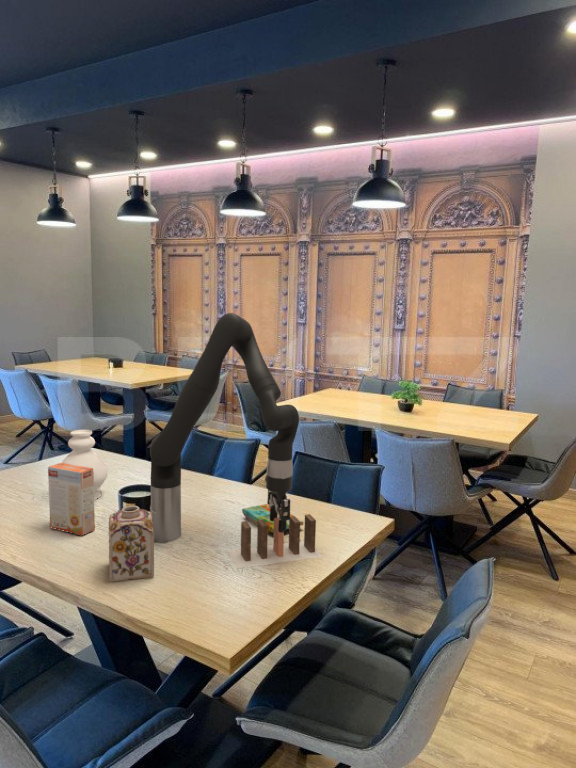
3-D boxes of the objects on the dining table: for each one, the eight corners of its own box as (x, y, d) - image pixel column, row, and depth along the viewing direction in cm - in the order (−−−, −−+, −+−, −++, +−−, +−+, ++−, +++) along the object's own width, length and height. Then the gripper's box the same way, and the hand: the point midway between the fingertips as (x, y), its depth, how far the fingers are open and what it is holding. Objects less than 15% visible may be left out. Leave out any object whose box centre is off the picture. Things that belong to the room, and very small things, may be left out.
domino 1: (245, 561, 162) (245, 528, 160) (240, 553, 166) (241, 521, 165) (250, 560, 162) (251, 527, 161) (246, 553, 167) (246, 521, 166)
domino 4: (294, 554, 167) (295, 522, 165) (288, 547, 171) (289, 516, 170) (299, 554, 167) (300, 522, 166) (293, 547, 172) (294, 515, 170)
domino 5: (309, 552, 168) (310, 520, 167) (303, 545, 173) (304, 514, 172) (314, 552, 169) (315, 520, 168) (308, 545, 174) (309, 514, 172)
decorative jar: (154, 578, 152) (153, 514, 149) (109, 583, 148) (107, 518, 146) (152, 558, 163) (151, 499, 160) (109, 563, 160) (108, 502, 157)
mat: (237, 569, 158) (237, 568, 157) (227, 551, 169) (227, 550, 169) (323, 557, 166) (323, 556, 166) (308, 541, 177) (308, 540, 177)
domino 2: (261, 559, 163) (262, 526, 162) (257, 551, 168) (257, 519, 167) (267, 558, 164) (267, 525, 163) (262, 551, 169) (262, 519, 167)
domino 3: (278, 556, 165) (278, 524, 164) (273, 549, 170) (273, 518, 168) (283, 556, 166) (284, 523, 164) (278, 549, 170) (279, 517, 169)
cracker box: (96, 530, 182) (94, 467, 179) (82, 537, 176) (80, 472, 173) (63, 522, 188) (61, 461, 185) (49, 528, 182) (46, 466, 179)
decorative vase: (46, 500, 207) (44, 434, 203) (80, 486, 223) (78, 424, 220) (86, 508, 201) (84, 439, 197) (117, 493, 217) (116, 429, 213)
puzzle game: (271, 500, 201) (303, 519, 184) (270, 512, 201) (303, 532, 185) (242, 506, 194) (273, 526, 178) (242, 519, 195) (272, 540, 178)
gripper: (260, 467, 169) (258, 518, 171) (274, 481, 156) (272, 537, 158) (284, 465, 172) (282, 516, 174) (300, 479, 158) (297, 534, 161)
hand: (277, 526), depth 166 cm, fingers open, 8 cm apart
